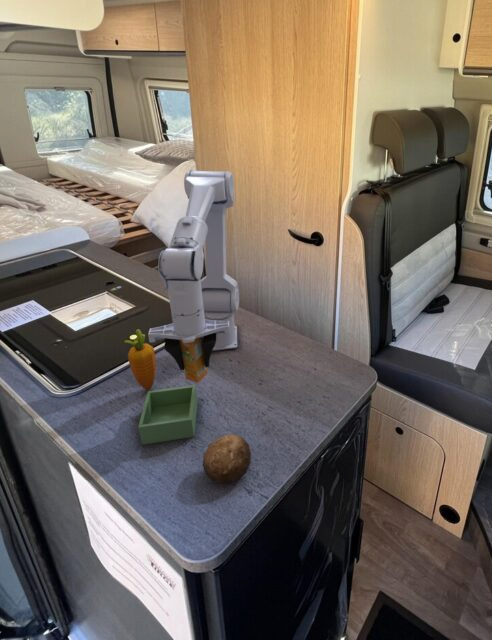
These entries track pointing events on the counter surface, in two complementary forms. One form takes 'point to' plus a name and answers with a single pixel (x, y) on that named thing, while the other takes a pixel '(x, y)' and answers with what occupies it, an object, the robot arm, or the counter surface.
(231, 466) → the brown oval lump
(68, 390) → the counter surface
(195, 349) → the supplement box
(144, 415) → the bin
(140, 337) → the carrot
